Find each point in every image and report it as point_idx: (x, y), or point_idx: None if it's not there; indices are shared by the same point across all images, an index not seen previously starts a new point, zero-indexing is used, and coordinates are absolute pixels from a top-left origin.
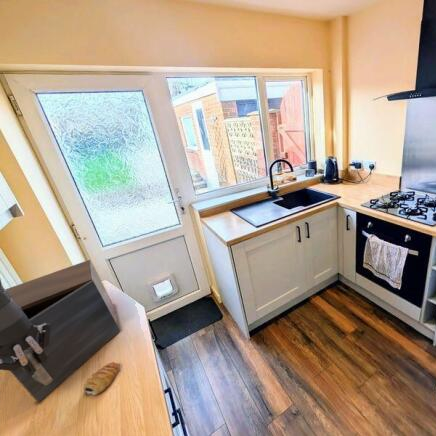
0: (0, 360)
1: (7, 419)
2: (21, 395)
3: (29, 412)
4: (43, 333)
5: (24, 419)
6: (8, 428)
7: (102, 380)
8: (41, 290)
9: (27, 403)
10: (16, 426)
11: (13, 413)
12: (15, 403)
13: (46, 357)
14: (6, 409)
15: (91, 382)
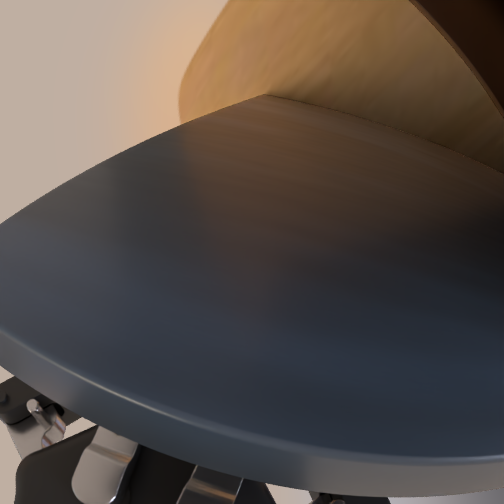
0: (57, 434)
1: (201, 51)
2: (276, 5)
3: (229, 105)
4: (315, 496)
5: (210, 112)
6: (182, 88)
7: None
8: None
9: (254, 62)
10: (190, 109)
11: (219, 49)
12: (248, 15)
13: None
14: (226, 7)
15: None
